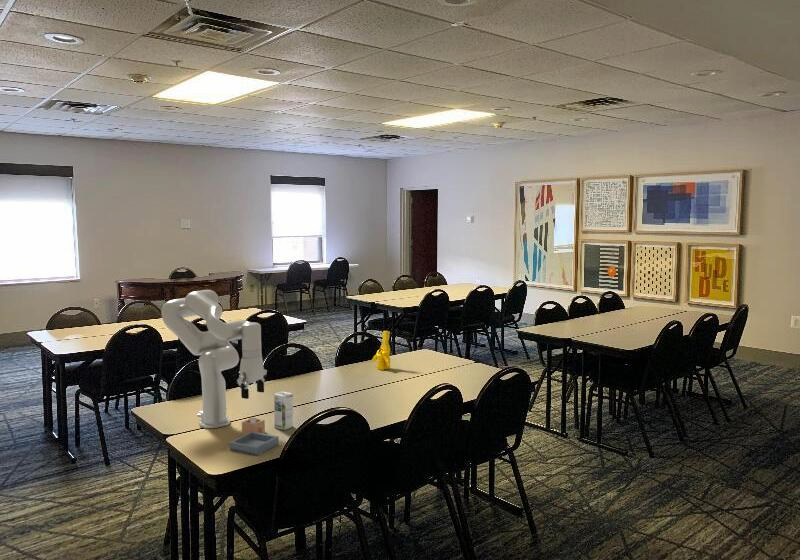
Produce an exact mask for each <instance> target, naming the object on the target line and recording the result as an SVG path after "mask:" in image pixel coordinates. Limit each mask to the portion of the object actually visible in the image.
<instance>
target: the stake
mask: <svg viewBox="0 0 800 560" xmlns="http://www.w3.org/2000/svg"><path fill="white" fill-rule="evenodd" d="M256 418H257V417H250V418H249V419H250V423H256Z"/></svg>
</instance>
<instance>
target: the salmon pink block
mask: <svg viewBox="0 0 800 560" xmlns="http://www.w3.org/2000/svg"><path fill="white" fill-rule="evenodd" d="M255 418H256V423H250V418H248V419H246V420H243V421H242V422H241V435H242V436H243V435H245V434H247V433H249V432H251V431H252V432H257V433H263V434H265V432H266V424H265V421H266V420H265V419H261V418H257V417H255Z"/></svg>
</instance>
